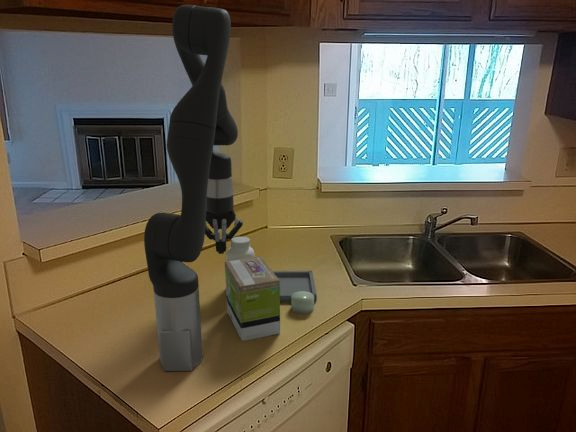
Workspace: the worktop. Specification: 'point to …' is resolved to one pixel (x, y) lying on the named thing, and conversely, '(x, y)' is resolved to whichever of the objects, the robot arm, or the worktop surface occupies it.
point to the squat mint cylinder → (302, 302)
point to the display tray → (295, 283)
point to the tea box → (253, 298)
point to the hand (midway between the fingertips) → (221, 252)
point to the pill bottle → (239, 249)
